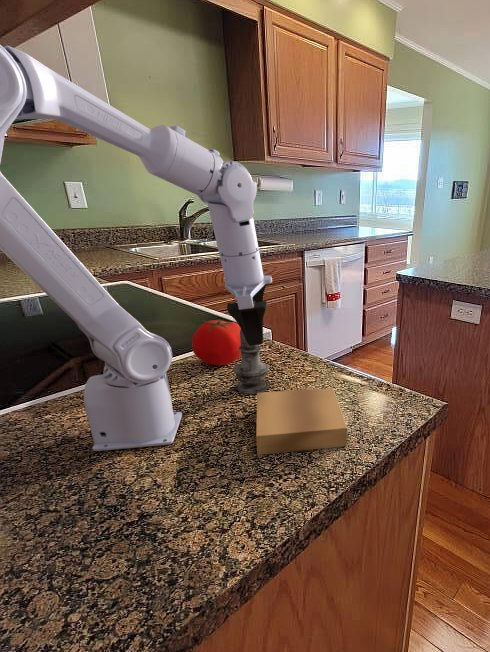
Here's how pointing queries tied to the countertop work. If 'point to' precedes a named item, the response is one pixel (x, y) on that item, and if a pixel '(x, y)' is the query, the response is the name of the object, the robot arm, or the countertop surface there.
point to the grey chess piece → (250, 369)
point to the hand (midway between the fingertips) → (256, 333)
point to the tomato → (217, 342)
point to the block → (299, 421)
